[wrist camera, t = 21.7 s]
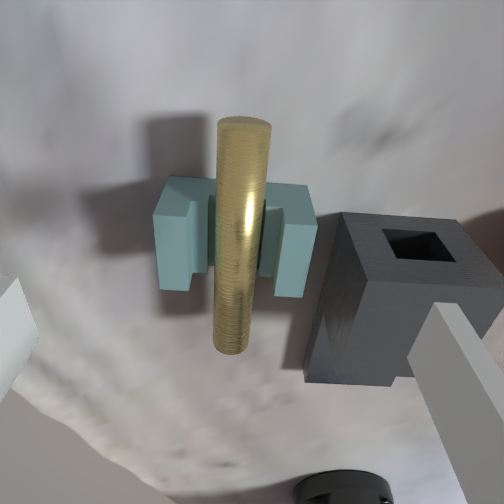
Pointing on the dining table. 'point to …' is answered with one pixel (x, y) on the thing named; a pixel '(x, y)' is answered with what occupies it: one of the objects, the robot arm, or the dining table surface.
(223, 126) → the axle
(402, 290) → the block
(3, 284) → the robot arm
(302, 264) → the v block
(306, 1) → the dining table surface
